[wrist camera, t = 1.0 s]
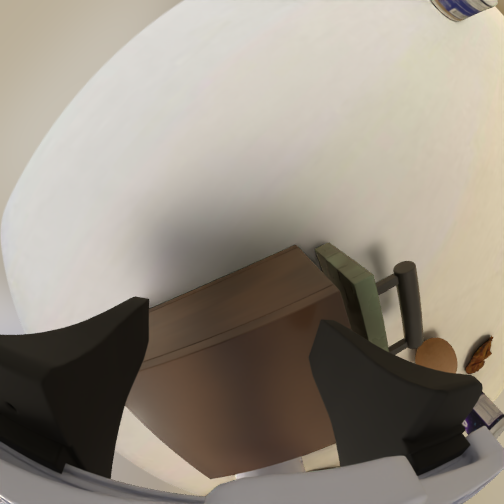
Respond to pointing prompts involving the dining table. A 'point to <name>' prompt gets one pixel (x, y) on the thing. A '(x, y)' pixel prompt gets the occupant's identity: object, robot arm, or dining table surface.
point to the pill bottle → (463, 7)
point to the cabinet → (239, 367)
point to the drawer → (374, 297)
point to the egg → (437, 355)
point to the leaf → (479, 357)
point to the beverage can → (485, 417)
